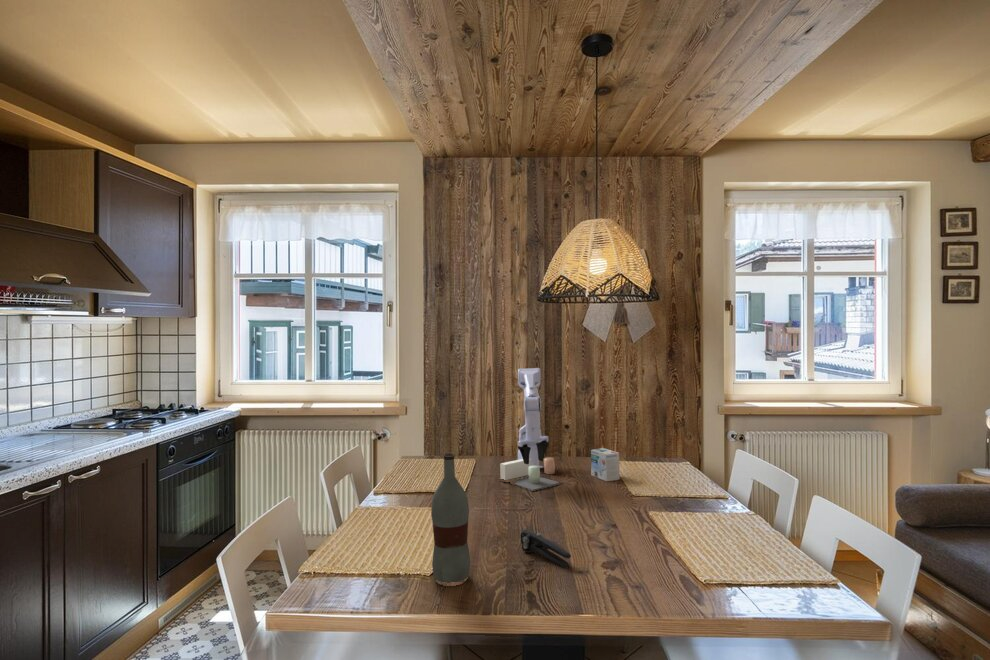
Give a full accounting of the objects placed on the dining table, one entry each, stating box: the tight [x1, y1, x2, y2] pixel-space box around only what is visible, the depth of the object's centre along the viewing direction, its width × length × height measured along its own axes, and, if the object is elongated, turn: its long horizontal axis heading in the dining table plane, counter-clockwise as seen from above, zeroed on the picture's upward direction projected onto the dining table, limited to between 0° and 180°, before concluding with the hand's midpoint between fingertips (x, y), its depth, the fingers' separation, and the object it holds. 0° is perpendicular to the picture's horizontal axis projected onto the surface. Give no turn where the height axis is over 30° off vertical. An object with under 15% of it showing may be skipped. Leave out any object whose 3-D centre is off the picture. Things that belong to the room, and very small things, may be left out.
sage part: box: [528, 466, 541, 484], centre depth 203 cm, size 4×4×6 cm
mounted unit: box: [499, 459, 531, 480], centre depth 212 cm, size 4×15×7 cm, turn 128°
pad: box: [515, 476, 561, 492], centre depth 203 cm, size 14×14×1 cm
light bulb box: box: [590, 447, 621, 482], centre depth 211 cm, size 11×7×11 cm, turn 25°
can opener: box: [520, 529, 572, 568], centre depth 137 cm, size 18×7×6 cm, turn 36°
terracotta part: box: [543, 456, 556, 475], centre depth 220 cm, size 4×4×6 cm
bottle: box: [430, 453, 471, 583], centre depth 126 cm, size 9×9×30 cm
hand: (533, 462), depth 204 cm, fingers open, 7 cm apart
